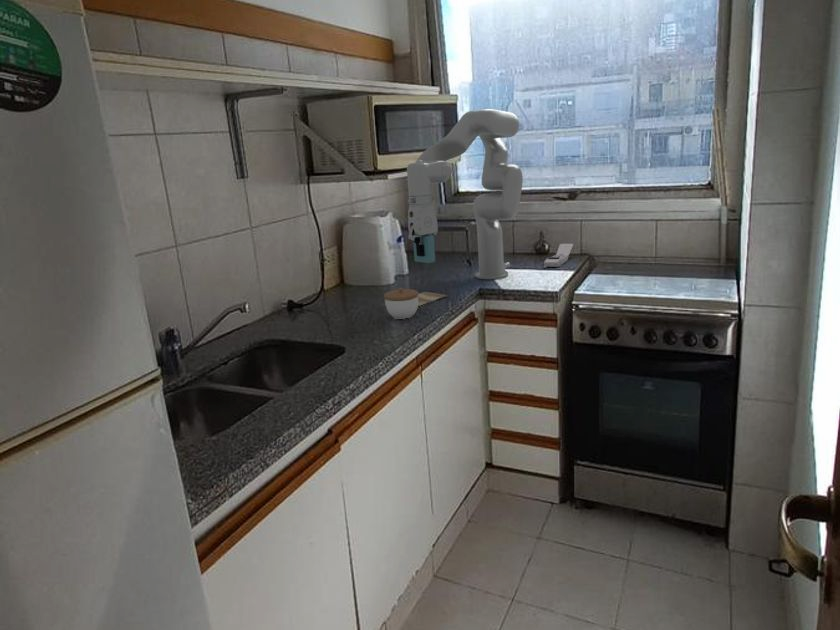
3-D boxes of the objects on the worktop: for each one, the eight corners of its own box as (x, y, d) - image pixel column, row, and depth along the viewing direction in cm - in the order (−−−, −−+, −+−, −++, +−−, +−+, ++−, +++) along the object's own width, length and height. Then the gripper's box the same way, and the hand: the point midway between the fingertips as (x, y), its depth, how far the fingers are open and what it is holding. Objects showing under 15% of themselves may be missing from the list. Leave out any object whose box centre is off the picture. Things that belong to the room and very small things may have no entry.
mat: (424, 293, 219) (424, 291, 219) (447, 297, 212) (447, 295, 212) (392, 304, 209) (392, 302, 208) (415, 308, 201) (415, 306, 201)
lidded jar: (426, 313, 194) (424, 285, 191) (407, 323, 185) (405, 293, 183) (398, 310, 200) (396, 283, 197) (379, 320, 191) (376, 291, 189)
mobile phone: (574, 243, 259) (555, 254, 238) (574, 257, 261) (556, 269, 240) (560, 243, 262) (541, 254, 241) (560, 256, 264) (541, 269, 243)
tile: (420, 259, 213) (418, 234, 210) (435, 261, 208) (433, 235, 205) (414, 261, 211) (412, 235, 208) (429, 263, 206) (427, 236, 203)
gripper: (411, 203, 195) (415, 260, 200) (445, 197, 206) (448, 251, 211) (395, 203, 201) (399, 258, 206) (429, 197, 212) (432, 250, 217)
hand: (424, 254), depth 208 cm, fingers closed on tile, 3 cm apart
